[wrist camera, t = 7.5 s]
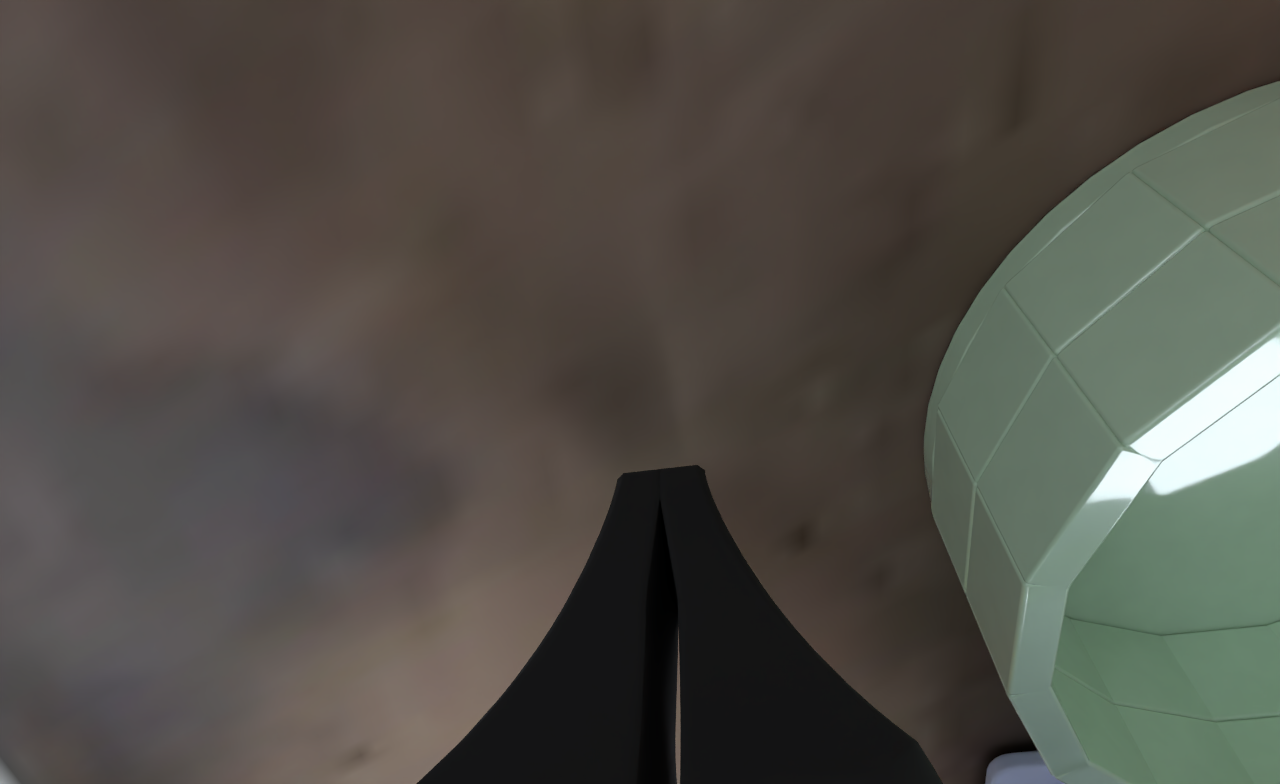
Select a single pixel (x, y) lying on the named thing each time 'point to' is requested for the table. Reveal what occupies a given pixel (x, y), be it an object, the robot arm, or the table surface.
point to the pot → (1130, 461)
